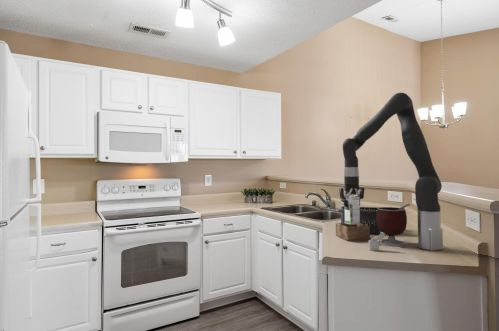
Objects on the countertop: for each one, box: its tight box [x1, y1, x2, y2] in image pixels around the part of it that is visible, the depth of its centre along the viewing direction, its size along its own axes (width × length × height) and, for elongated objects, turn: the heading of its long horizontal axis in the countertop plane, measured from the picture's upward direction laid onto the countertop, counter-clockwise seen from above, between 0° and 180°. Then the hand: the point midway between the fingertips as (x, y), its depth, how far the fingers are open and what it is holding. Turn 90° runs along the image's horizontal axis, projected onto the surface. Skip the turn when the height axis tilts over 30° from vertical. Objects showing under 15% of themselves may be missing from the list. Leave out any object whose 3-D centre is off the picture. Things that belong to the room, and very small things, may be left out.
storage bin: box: [340, 206, 381, 235], centre depth 186 cm, size 29×19×13 cm
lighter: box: [368, 232, 386, 251], centre depth 141 cm, size 7×2×8 cm, turn 92°
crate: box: [335, 222, 371, 242], centre depth 166 cm, size 13×13×7 cm
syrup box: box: [344, 195, 360, 225], centre depth 166 cm, size 6×6×14 cm
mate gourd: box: [376, 203, 411, 247], centre depth 153 cm, size 16×14×20 cm
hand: (352, 206), depth 166 cm, fingers closed on syrup box, 6 cm apart
